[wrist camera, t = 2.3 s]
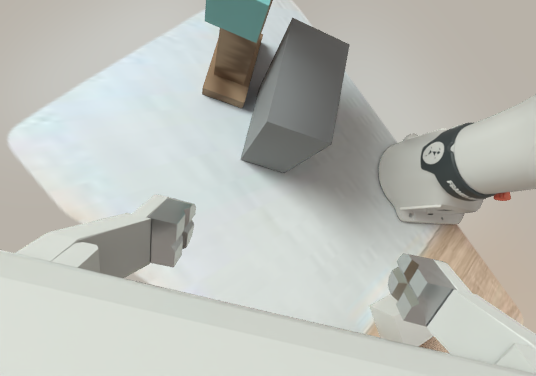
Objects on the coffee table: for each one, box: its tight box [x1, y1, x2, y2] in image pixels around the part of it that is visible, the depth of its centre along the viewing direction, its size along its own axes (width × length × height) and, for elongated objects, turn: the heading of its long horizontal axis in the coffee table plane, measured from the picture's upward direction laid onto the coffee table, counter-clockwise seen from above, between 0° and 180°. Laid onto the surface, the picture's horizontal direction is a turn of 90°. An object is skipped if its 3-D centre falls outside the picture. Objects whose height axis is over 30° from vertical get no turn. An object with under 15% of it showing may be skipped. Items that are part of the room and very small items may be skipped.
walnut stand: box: [202, 0, 273, 108], centre depth 32 cm, size 7×14×26 cm, turn 167°
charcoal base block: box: [241, 18, 349, 173], centre depth 37 cm, size 8×14×16 cm, turn 167°
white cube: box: [369, 294, 434, 346], centre depth 43 cm, size 6×6×6 cm
